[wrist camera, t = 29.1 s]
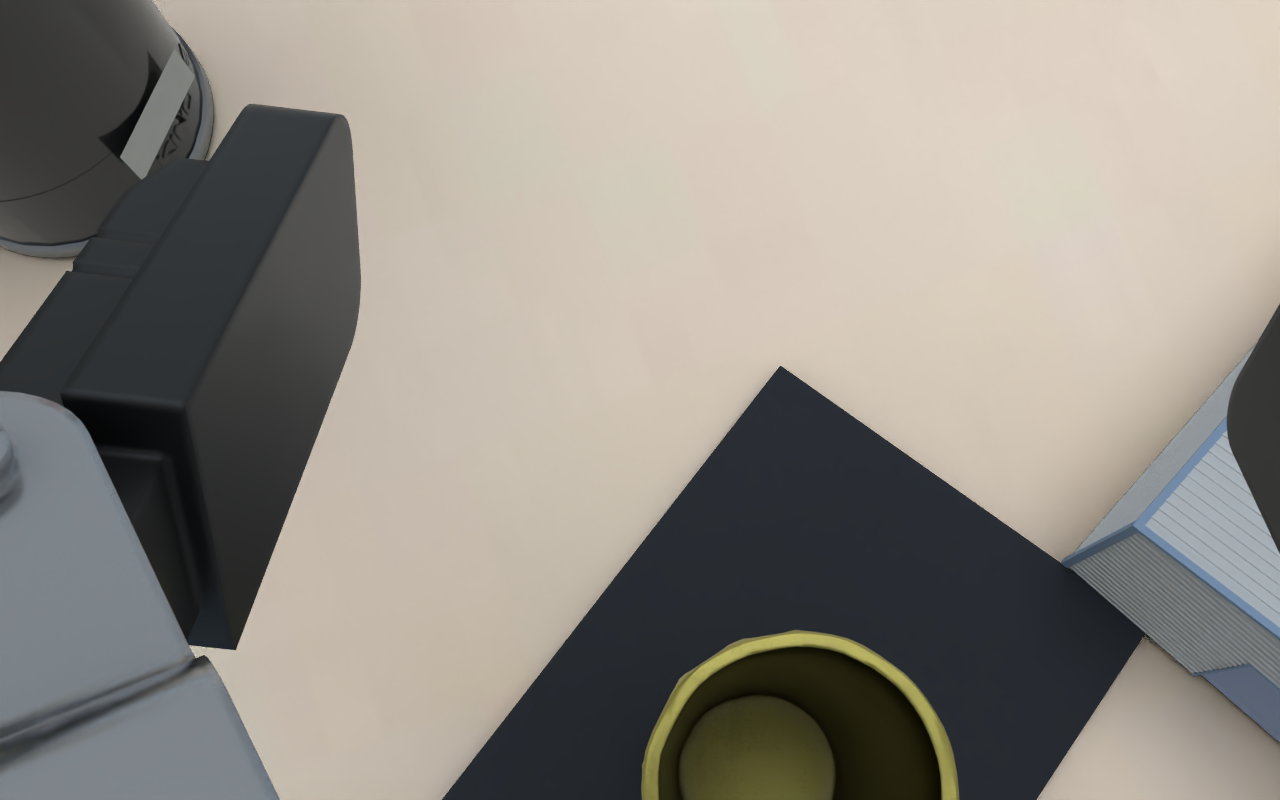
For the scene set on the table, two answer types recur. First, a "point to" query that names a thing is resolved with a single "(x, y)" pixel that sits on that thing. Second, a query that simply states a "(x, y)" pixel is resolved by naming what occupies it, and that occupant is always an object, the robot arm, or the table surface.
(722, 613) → the mat
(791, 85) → the table surface
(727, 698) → the vase
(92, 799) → the robot arm
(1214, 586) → the warehouse
